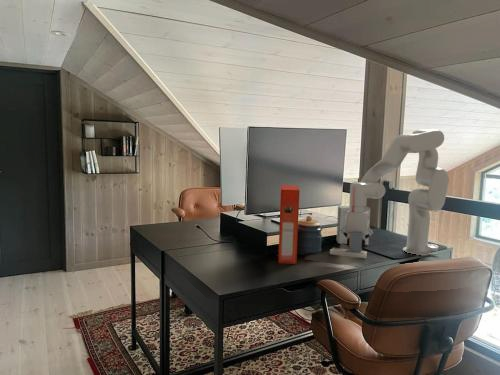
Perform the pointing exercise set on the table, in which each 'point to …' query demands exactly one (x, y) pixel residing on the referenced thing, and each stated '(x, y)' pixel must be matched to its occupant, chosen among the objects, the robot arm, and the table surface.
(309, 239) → the canister
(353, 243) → the carton
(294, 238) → the file binder
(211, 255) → the table surface
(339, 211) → the hard drive box
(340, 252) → the shelf board
